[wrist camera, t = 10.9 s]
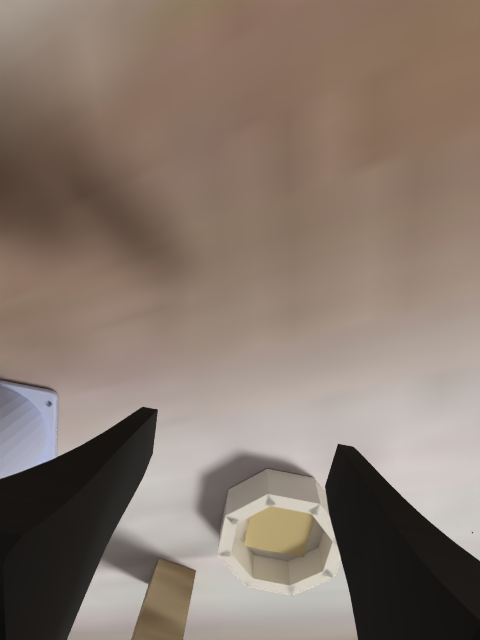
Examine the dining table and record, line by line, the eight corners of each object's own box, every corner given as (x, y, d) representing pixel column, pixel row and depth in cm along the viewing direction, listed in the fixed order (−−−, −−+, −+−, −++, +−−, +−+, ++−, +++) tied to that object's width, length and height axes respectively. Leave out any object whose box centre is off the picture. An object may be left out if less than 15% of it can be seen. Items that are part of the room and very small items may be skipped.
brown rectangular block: (184, 596, 29) (156, 728, 21) (148, 584, 29) (107, 712, 21) (196, 570, 28) (172, 698, 20) (159, 558, 28) (120, 681, 20)
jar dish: (319, 569, 27) (325, 602, 24) (216, 549, 27) (212, 579, 25) (347, 484, 24) (357, 511, 22) (233, 462, 25) (231, 486, 22)
